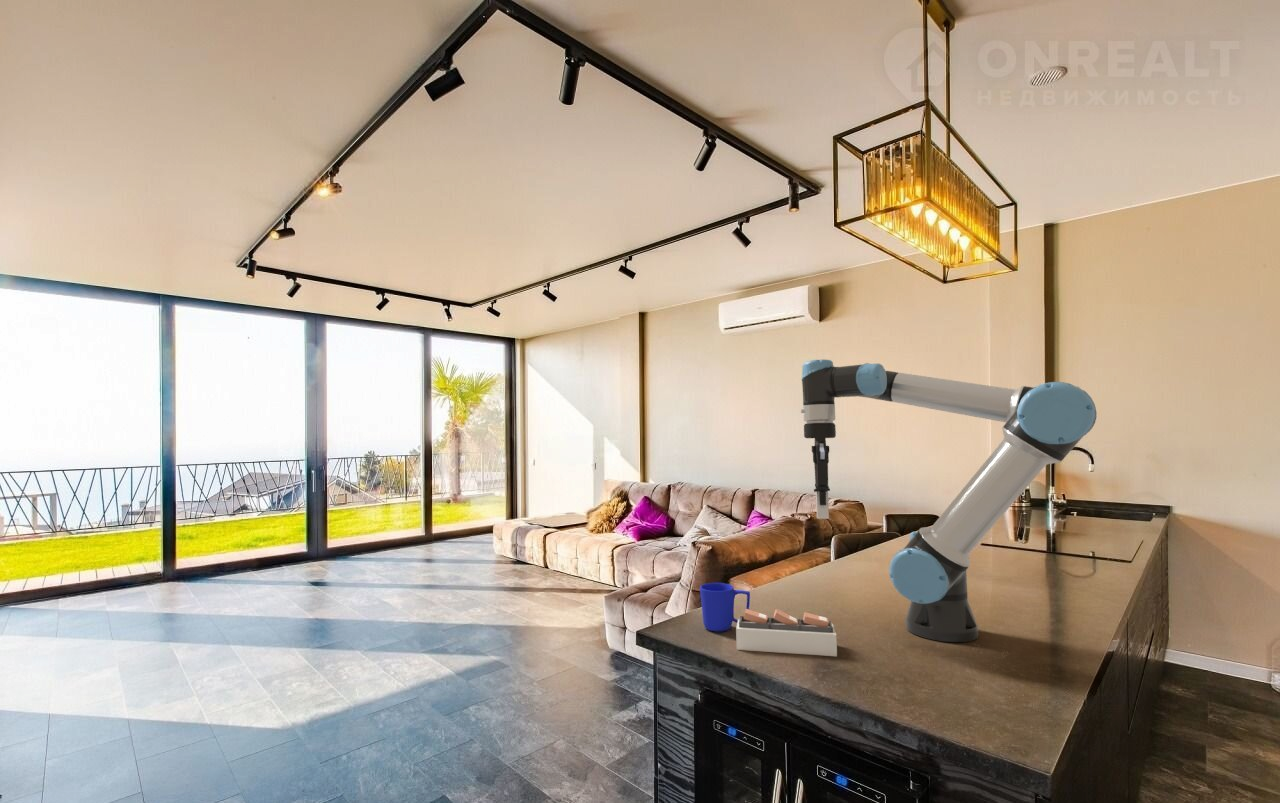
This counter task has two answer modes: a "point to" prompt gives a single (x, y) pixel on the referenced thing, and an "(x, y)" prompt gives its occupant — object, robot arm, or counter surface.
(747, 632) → the white rack
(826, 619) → the orange rectangular block
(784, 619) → the block
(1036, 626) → the counter surface
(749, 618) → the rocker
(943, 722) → the counter surface
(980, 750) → the counter surface
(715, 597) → the mug
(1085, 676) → the counter surface
